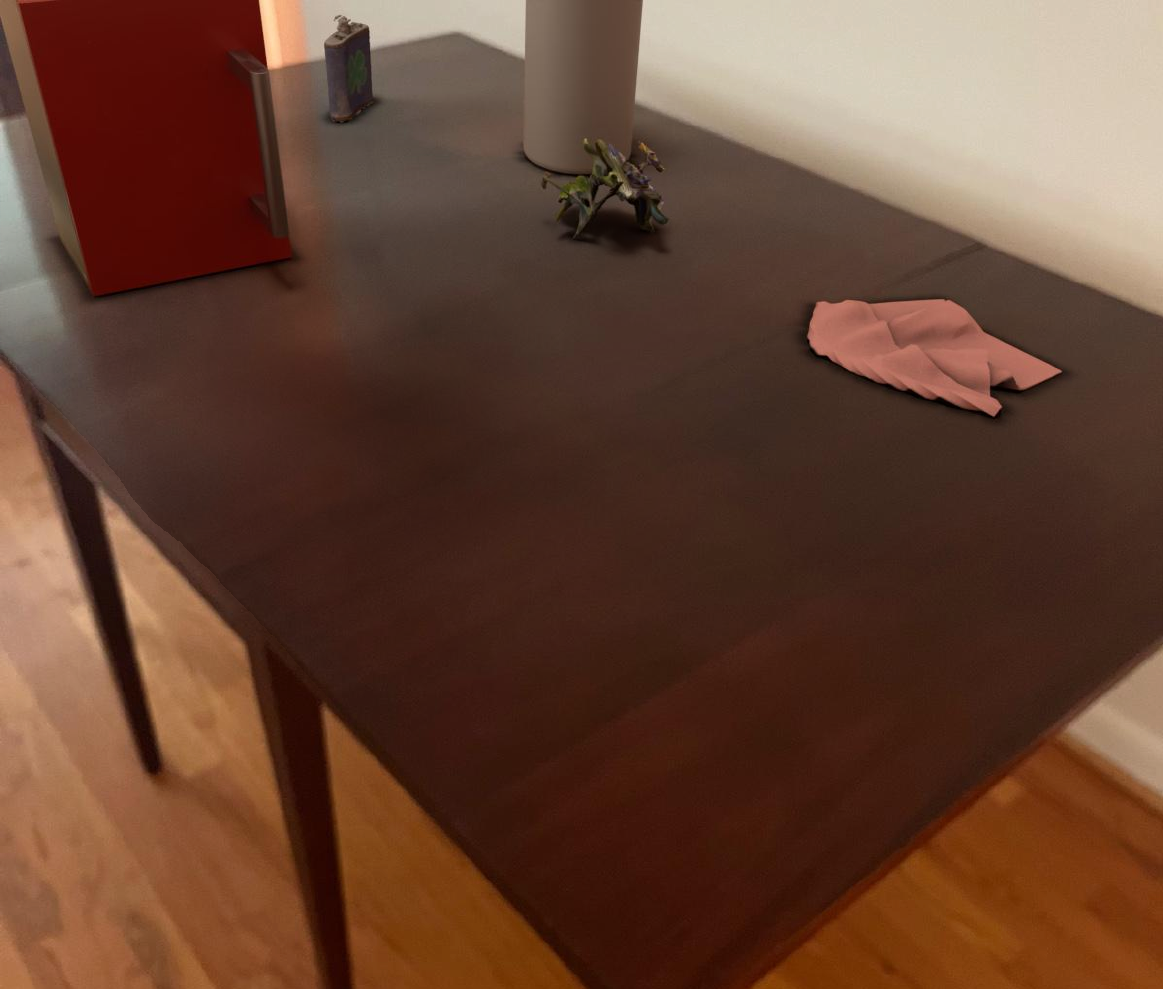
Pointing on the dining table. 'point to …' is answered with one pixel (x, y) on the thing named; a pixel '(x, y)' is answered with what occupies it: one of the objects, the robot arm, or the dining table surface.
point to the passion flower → (613, 186)
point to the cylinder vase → (579, 79)
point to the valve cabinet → (40, 130)
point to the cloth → (923, 350)
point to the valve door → (161, 135)
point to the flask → (348, 69)
